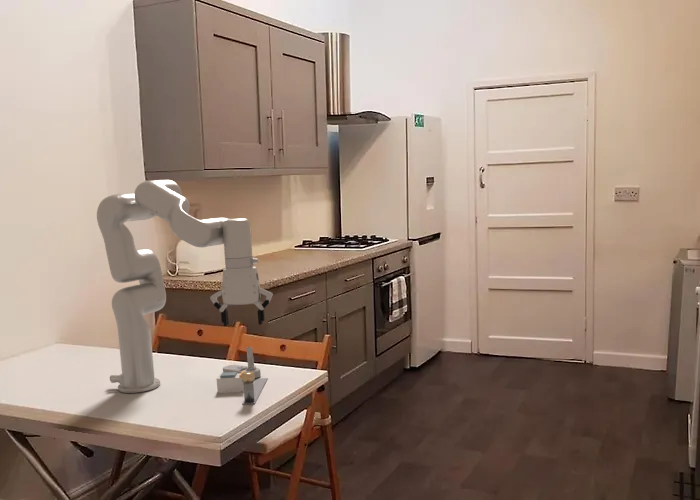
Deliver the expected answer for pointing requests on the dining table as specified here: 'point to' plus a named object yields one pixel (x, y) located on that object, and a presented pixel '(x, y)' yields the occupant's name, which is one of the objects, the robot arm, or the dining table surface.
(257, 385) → the strip
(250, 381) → the knob
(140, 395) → the dining table surface
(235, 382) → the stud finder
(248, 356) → the electronic device
